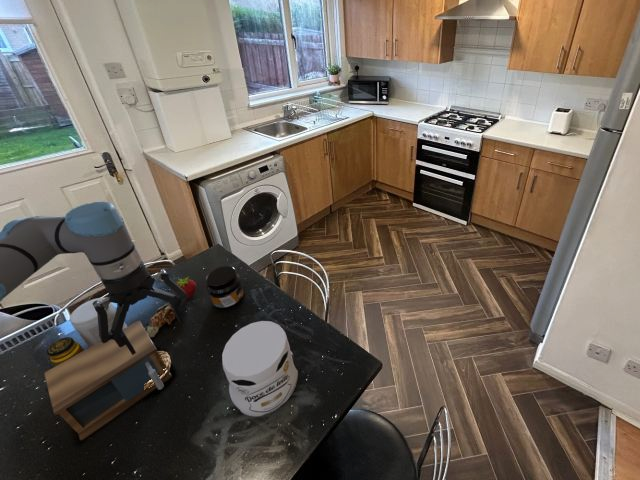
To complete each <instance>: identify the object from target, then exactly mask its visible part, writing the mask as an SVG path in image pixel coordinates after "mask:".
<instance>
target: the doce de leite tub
mask: <svg viewBox="0 0 640 480" xmlns="http://www.w3.org/2000/svg"><path fill="white" fill-rule="evenodd" d="M221 358H222V359H221V360H222V369H223V372H224V374H225V376H226V377H225V378H226V379H227V381H228V393H229V396H230V397H229V398H230V400H231V402H232V404H233V405H234V406H235V408H237V410H238V411H239V412H240V413H242V414H244V415H246V416H249V417H263V416H267V415H269V414H272V413H274V412H275V411H277V410H278V409H280V408H281V407H282V406H283V405H284V404H285V403H286V402H287V401H288V400H289V399H290V397H291V396H292V395H293V393H294V391H295V389H296V386H297V383H298V377H299V369H298V363H297V360H296V359H297V358H296V357H295V355H294V354H293V352H292V351H291V348H290V343H289V341H288V337H287V334H286V331H285V330H284V329H283V328H282V327H281V325H280V324H278V323H275V322H273V321H269V320H267V321H266V320H260V321H259V320H258V321H256V322H255V321H254V322H251V323H249V324H247V325H245V326H243V327H241V328H240V329H239V330H237V331H236V332H235V333H233V334H232V336H231V337H230V338H229V339H228V341H227V342H226V344H225V346H224V347H223V352H222V354H221Z"/></svg>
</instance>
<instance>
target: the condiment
mask: <svg viewBox="0 0 640 480" xmlns="http://www.w3.org/2000/svg"><path fill="white" fill-rule="evenodd" d="M85 350H86V349H84V348H83V346H82V345H81V343H79V342H77V341H76V340H74V338H72V337H69V336H66V337H62V338H59V339H57V340H56V341H54V342H52V344H51V345H49V347H48V348H47V350H46V354H47V355H48V356H49V359H50V362H51V363H52V364H53V365H54V367H56V366H57V365H59V364H61V363H63V362H65V361H67V360H68V359H70V358H72V357H74V356H76V355H77V354H79V353H81V352H83V351H85Z"/></svg>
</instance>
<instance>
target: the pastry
mask: <svg viewBox="0 0 640 480" xmlns="http://www.w3.org/2000/svg"><path fill="white" fill-rule="evenodd" d="M175 319H176V315H175V313H174V311H173V309H172V307H171V305H170V303H169V302H165V304H163V305H162V306H161V307H159V308H157V309H156V311H155V314H154V315H153V316H152V317H151V318H150V320H149V324H148V325H146V326H145V327H144V329H145V331H146V332H147V334H148V336H149V337H150V338H154V337H155V336H156V334H157V333H158V332H159V329H160V328H162V327H163V326H164V325H165V324H166V323H167V324H168V325H172V321H174V320H175Z"/></svg>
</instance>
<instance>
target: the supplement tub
mask: <svg viewBox="0 0 640 480" xmlns="http://www.w3.org/2000/svg"><path fill="white" fill-rule="evenodd" d="M105 298H106V297H98V298H93V299H90V300H88V301H86V302H84V303H82V304H81V305H79V306H77V307H76V308H75V309H74V310H73V311H72V313H70V315H69V322H70V324H71V325H72V327H73V329H74V330H75V331H76V332H77V333H78V335H79V336H80V337H81V339H82V340H83V341H84V342H85V343H86V345H87V346H88V348H90V347H92V346H94V345H95V344H97V343H99V342H101V339H100V336H99V328H98V316H97V312H96V310H95V308H94V306H93V302H94V301H97V300H99V301H102V300H103V299H105ZM116 310H117V307H116V306H115V305H114V303H112V302H111V303H110V304H109V308H108V310H106V312H107V317H108V331H109V330H111V327H112V324H113V320H114V317H115V313H116ZM126 327H128V325H127V323H126V322H125V321H124V324H123V328H122V329H124V328H126Z"/></svg>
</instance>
